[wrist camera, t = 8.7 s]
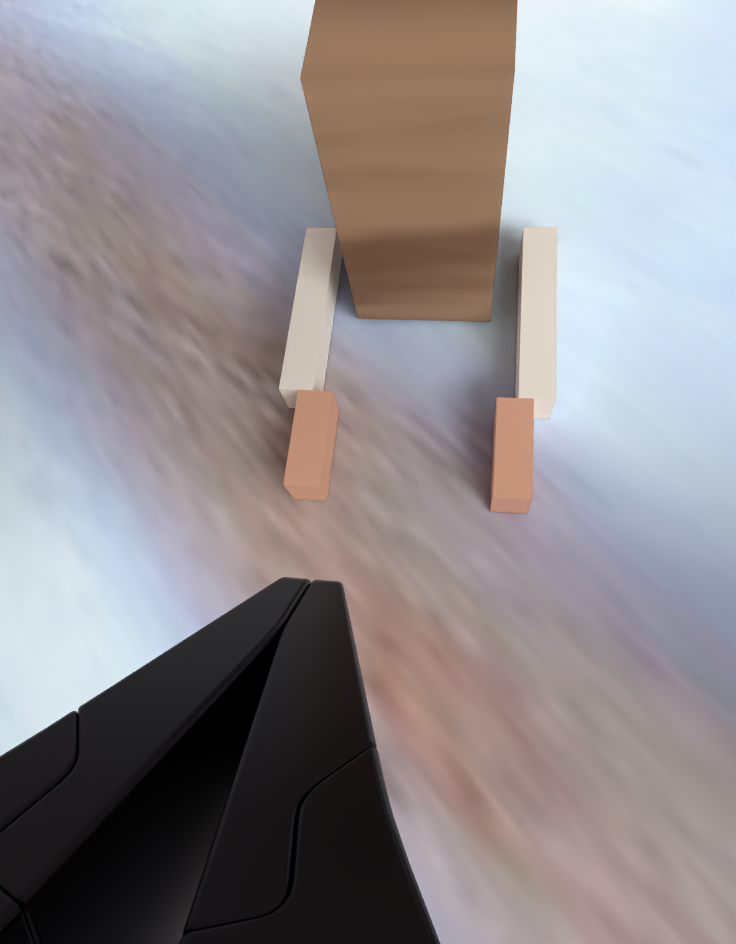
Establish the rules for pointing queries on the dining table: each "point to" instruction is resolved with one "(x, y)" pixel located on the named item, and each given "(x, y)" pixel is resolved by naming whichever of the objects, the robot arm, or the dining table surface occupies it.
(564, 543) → the dining table surface
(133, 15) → the dining table surface
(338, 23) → the block
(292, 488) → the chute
